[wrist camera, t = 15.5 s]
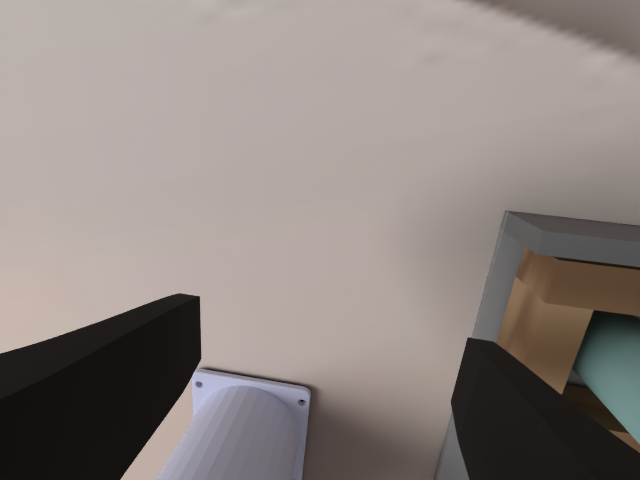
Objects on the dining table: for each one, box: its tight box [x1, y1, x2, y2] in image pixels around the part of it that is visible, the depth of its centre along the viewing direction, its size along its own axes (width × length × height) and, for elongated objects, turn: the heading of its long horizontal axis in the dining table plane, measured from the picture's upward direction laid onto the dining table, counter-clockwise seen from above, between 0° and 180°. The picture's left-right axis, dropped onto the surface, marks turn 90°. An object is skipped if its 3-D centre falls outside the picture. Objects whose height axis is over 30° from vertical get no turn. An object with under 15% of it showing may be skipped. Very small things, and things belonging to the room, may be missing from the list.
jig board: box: [435, 211, 640, 480], centre depth 18 cm, size 20×12×4 cm, turn 174°
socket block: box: [496, 246, 640, 453], centre depth 16 cm, size 10×10×3 cm
